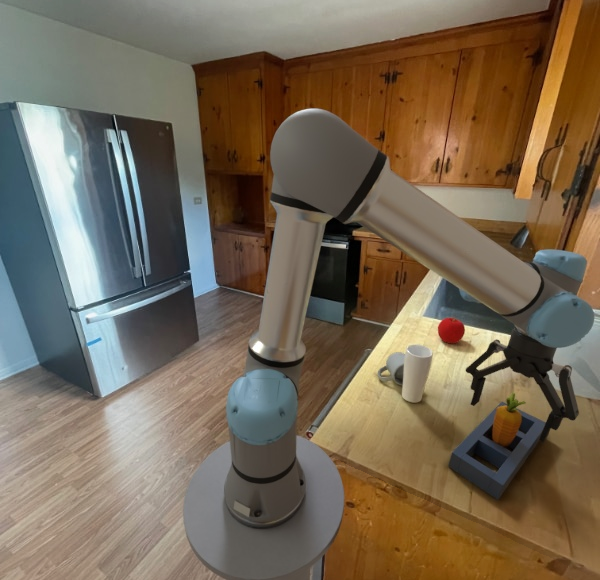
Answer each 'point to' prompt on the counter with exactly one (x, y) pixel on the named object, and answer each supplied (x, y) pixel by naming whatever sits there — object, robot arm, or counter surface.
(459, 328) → the fruit
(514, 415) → the carrot
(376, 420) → the counter surface
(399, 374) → the ceramic mug
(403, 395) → the drinking glass
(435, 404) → the counter surface
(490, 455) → the block with rectangular holes
